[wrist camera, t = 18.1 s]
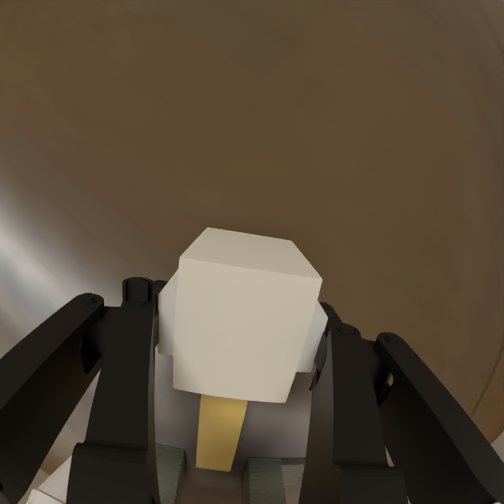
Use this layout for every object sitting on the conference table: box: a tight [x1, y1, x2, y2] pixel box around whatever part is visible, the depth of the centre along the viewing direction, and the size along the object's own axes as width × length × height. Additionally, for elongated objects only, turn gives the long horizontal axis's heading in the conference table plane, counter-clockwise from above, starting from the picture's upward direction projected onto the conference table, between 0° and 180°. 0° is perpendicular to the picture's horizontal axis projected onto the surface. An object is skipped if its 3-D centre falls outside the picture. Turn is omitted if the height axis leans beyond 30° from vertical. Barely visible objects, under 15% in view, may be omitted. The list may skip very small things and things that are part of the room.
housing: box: [155, 443, 306, 504], centre depth 19 cm, size 20×6×10 cm, turn 81°
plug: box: [173, 227, 322, 471], centre depth 15 cm, size 5×20×7 cm, turn 170°
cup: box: [26, 455, 72, 504], centre depth 18 cm, size 12×12×14 cm
